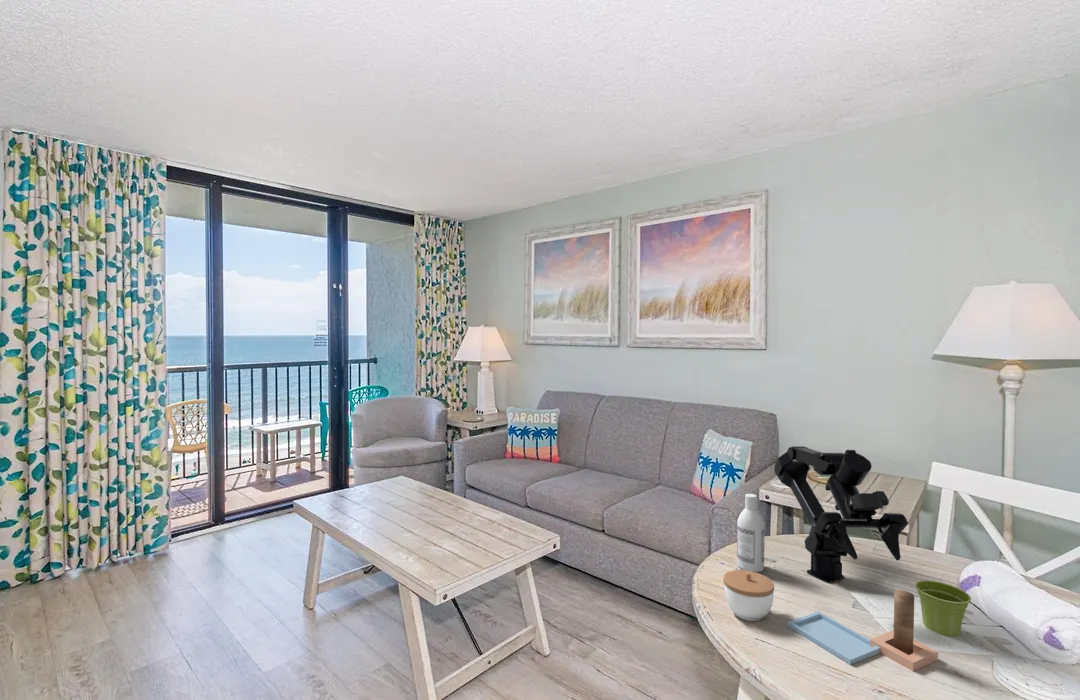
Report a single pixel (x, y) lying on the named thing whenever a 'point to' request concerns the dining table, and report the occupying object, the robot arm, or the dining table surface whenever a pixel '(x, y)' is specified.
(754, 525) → the bath foam
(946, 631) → the plant pot
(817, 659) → the dining table surface
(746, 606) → the lidded jar
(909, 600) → the peg
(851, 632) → the tray
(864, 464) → the robot arm
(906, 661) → the holder
